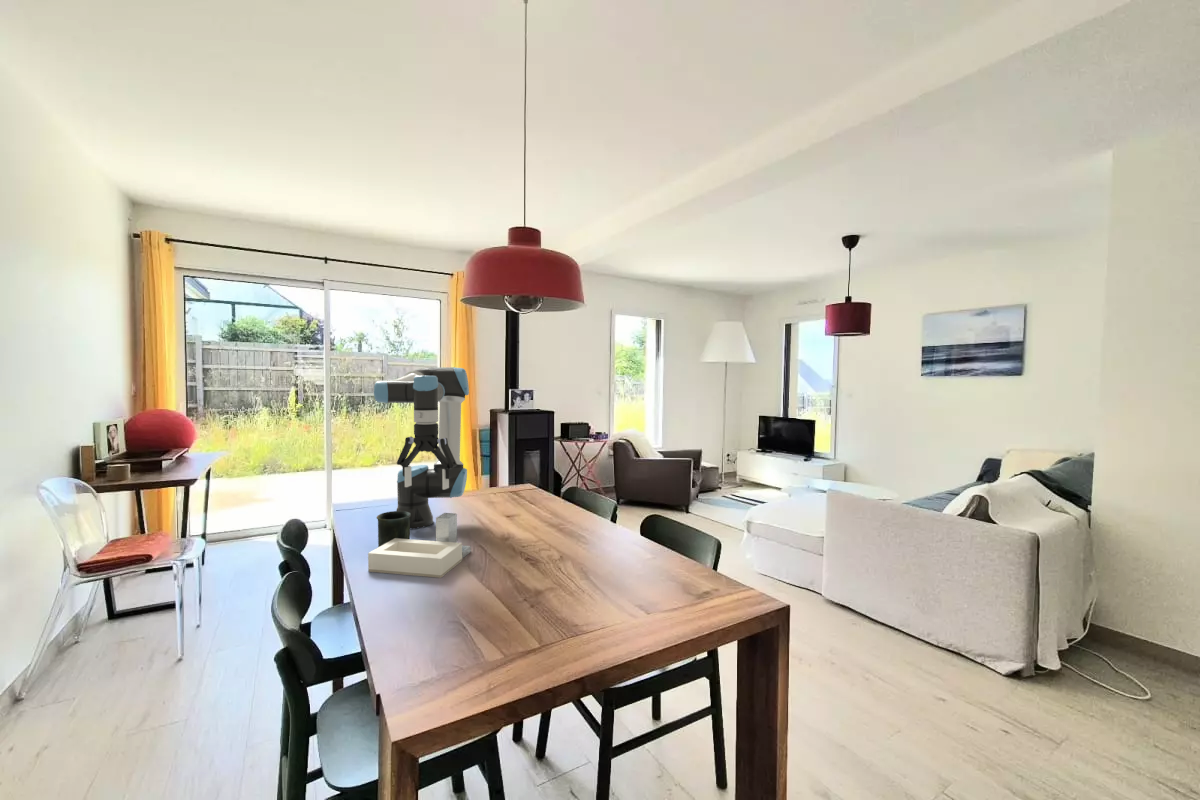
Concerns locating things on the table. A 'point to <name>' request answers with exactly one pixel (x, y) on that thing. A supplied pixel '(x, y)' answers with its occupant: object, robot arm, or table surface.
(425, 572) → the well block
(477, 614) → the table surface
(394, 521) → the mug
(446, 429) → the robot arm
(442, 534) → the grey l-shaped block
